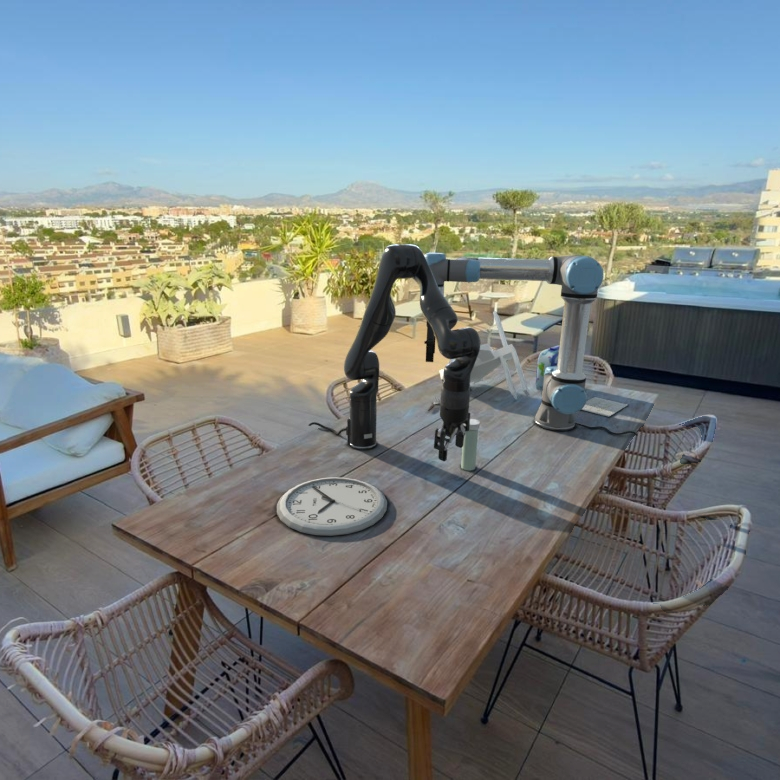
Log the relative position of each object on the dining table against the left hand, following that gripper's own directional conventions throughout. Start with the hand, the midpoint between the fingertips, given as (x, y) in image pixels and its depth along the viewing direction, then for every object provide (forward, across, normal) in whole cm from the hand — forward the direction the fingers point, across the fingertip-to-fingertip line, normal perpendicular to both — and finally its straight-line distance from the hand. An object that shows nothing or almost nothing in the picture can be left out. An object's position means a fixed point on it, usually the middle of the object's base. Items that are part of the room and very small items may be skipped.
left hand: (450, 453), depth 145 cm
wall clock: (+12, +26, -20) cm, 35 cm away
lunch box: (+31, -119, -14) cm, 124 cm away
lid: (+1, -20, -5) cm, 21 cm away
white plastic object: (+30, -90, -40) cm, 103 cm away
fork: (+26, -59, -45) cm, 79 cm away
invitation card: (+27, -107, +10) cm, 111 cm away
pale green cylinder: (+16, -18, -4) cm, 25 cm away
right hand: (-6, -40, -35) cm, 54 cm away
